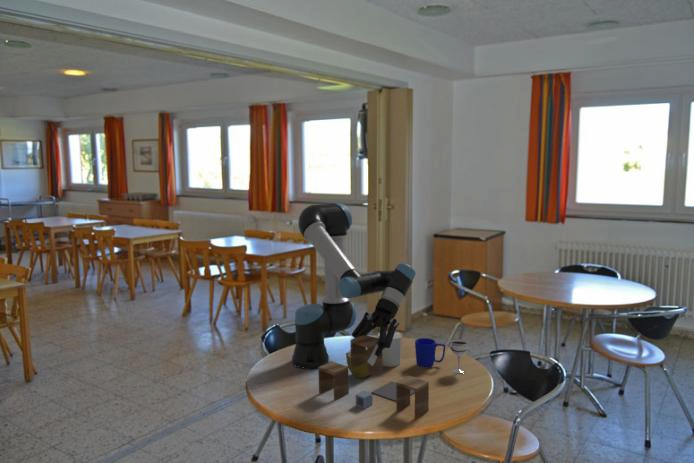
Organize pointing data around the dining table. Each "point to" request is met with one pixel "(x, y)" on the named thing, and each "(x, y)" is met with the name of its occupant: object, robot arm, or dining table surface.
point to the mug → (426, 352)
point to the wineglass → (459, 350)
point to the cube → (363, 399)
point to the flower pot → (358, 368)
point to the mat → (389, 391)
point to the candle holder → (392, 351)
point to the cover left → (334, 379)
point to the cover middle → (364, 352)
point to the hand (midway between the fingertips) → (360, 360)
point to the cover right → (420, 394)
